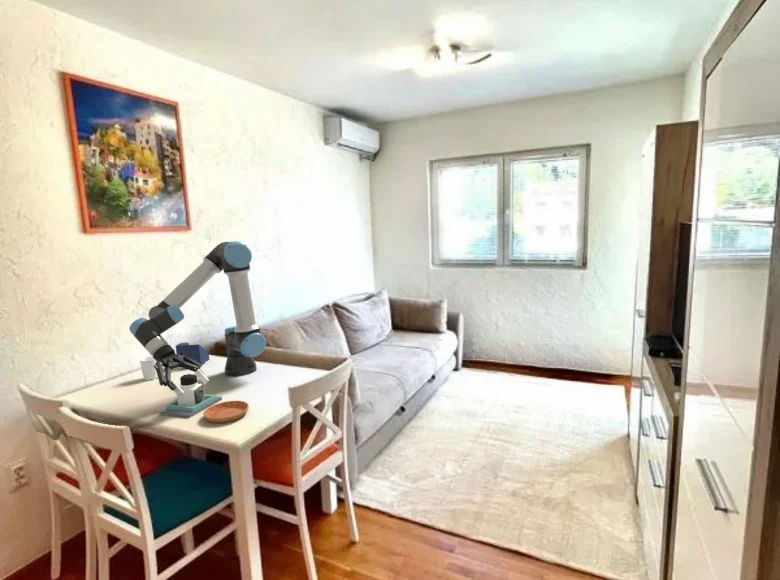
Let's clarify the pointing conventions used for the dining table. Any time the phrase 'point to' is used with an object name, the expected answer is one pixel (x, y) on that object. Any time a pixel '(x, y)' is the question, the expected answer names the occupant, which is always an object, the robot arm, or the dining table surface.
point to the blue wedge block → (193, 352)
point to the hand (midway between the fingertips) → (194, 388)
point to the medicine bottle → (190, 391)
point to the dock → (187, 411)
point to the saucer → (226, 411)
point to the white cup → (148, 368)
